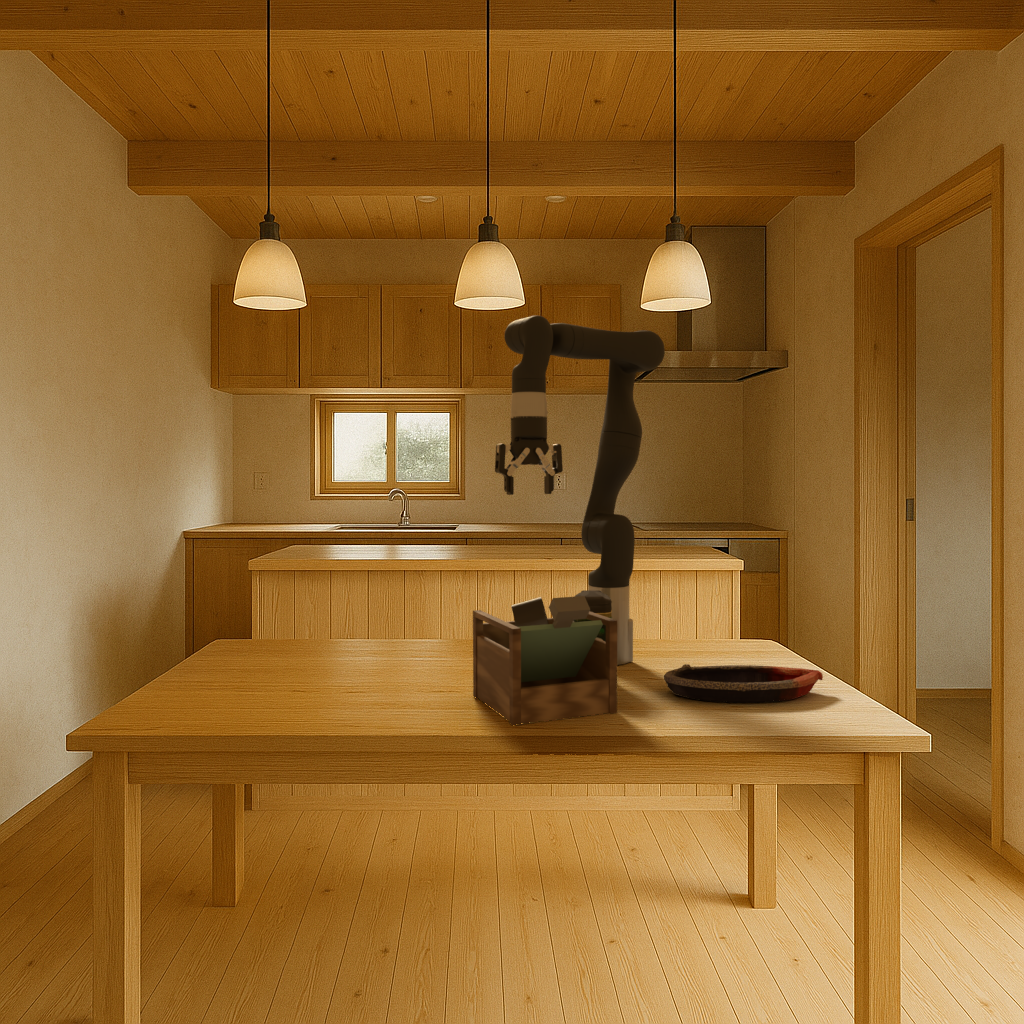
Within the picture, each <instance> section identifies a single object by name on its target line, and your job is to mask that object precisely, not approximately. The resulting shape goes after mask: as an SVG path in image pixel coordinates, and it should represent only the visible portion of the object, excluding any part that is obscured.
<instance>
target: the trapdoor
mask: <svg viewBox="0 0 1024 1024" xmlns="http://www.w3.org/2000/svg"><path fill="white" fill-rule="evenodd" d="M548 610H549V612H550V614H551V618H553V620H554V622H553V624H546V625H533V626H521V627H519V628H521V682H529V681H538V680H547V679H557V678H566V677H576V675H577V673H578V671H579V669H580V667H581V665H582V664H583V662H584V660H585V658H586V656H587V654H588V652H589V650H590V648H591V646H592V644H593V643H594V641H595V639H596V637H597V635H598V633H599V631H600V629H601V627H602V625H603V624H602V621H601V620H596V621H584V622H573V620H576V619H586V617H587V615H588V613H589V611H590V608H589V605H588V603H587V601H586V598H585V596H576V597H574V596H563V597H553V598H552V599H551V601H550V604H549V606H548Z"/></svg>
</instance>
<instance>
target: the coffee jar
mask: <svg viewBox="0 0 1024 1024" xmlns="http://www.w3.org/2000/svg"><path fill="white" fill-rule="evenodd" d="M576 596H585V598H586V601H587V603H588V605H589V608H590V612H593V613H596V614H599V615H602V616H605V617H608V618H611V619H612V606H611V603H612V601H611V599H610V597H609V596H608V595H606V594H604V593H602V592H601V591H599V590H588V589H587V590H581V591H580V592H579V593H577V594H575V595H574V596H573V597H576ZM584 621H592V620H589V619H576V620H573V622H584ZM596 638H597V639H600V640H602V641H605V642H606V625H602V627H601V629H600V631H599V633H598V635H597V637H596Z"/></svg>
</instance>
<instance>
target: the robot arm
mask: <svg viewBox="0 0 1024 1024" xmlns="http://www.w3.org/2000/svg"><path fill="white" fill-rule="evenodd" d="M503 336H504V341H505V345H507V347H508V348H509V349H510V350H511V351H512V352H514V353H516V354H519V355H522V356H521V357H522V358H521V360H520V362H519V363H518V364H516V365H514V367H513V368H512V372H511V398H510V443H509V444H505V443H498V444H496V446H495V457H494V458H495V460H494V472H495V473H496V474H498V475H499V474H500V475H501V476H503V491H504V492H505V493H506V495H507V496H509V495H510V496H513V495H514V494H515V493H514V487H515V485H514V484H515V483H514V481H515V480H514V479H515V478H514V476H513V475H514V473H515V472H516V470H517V469H518V468H519V467H520V466H523V465H524V466H526V465H530V466H536V465H537V466H538V467H539V468H540V469H541V470H542V472H543V473H544V475H545V476H544V477H543V479H544V480H543V482H544V484H543V485H544V486H543V487H544V491H543V492H544V495H545V494H546V495H552V494H553V493H552V492H554V489H555V475H557V474H559V473H563V451H562V444H560V443H554V444H548V440H547V439H548V413H549V412H548V401H547V393H546V392H547V375H546V374H547V370H548V366H549V362H550V358H551V356H554V357H559V358H564V359H566V358H567V359H573V360H574V359H575V360H608V361H609V362H608V376H607V377H608V379H607V392H606V399H605V405H604V406H605V408H604V415H603V421H602V426H601V432H600V437H599V441H598V443H599V444H598V451H597V457H596V464H595V470H594V476H593V480H592V484H591V485H592V487H591V490H590V494H589V498H588V502H587V505H586V509H585V514H584V516H583V520H582V525H581V531H580V532H581V533H580V534H581V541H582V544H583V547H584V548H585V549H586V550H587V551H588V552H589V553H591V554H597V555H600V563H599V566H598V567H597V568H595V569H594V570H591V571H590V572H589V573H588V577H587V578H588V579H587V581H588V582H587V590H599V591H601V592H602V593H604V594H606V595H608V596H609V597H610V599H611V601H612V603H611V606H612V619H614V620H617V666H618V665H620V666H621V665H625V664H628V663H632V662H634V620H633V618H630V579H631V576H632V574H633V572H634V571H633V570H634V560H635V559H634V556H635V541H636V539H635V530H634V526H633V523H632V521H631V519H629V518H628V517H627V516H625V515H622V514H617V513H615V510H616V504H617V499H618V496H619V494H620V491H621V489H622V487H623V486H624V484H625V482H627V479H628V478H629V476H630V475H631V473H632V472H633V470H634V468H635V466H636V464H637V462H638V460H639V455H640V450H641V444H642V439H643V438H642V437H643V427H642V422H641V419H640V416H639V413H638V411H637V408H636V407H637V406H636V404H635V402H634V387H635V381H636V376H637V374H638V373H642V372H643V373H644V372H645V373H646V372H650V371H652V370H654V369H656V368H658V367H659V366H660V365H661V364H662V362H663V360H664V359H665V353H666V352H665V344H664V341H663V340H662V338H661V336H659V334H658V333H656V332H654V331H652V330H645V329H643V330H642V329H641V330H636V331H635V330H634V331H620V330H619V331H618V330H617V331H616V330H607V329H602V328H601V329H599V328H595V327H588V326H583V325H578V324H577V325H576V324H570V323H565V322H557V323H550V321H549V320H548V319H547V318H546V317H545V316H542V315H531V316H528V317H524V318H523V317H522V318H519V319H516V320H514V321H511V322H510V323H509V324H508V325H507V327H506V329H505V331H504V335H503ZM509 452H510V453H511V455H512V457H511V459H510V460H509V461H508V463H507V466H506V455H507V454H508V453H509ZM548 452H549V454H550V455H551V462H550V461H549V460H548V458H547V457H546V455H547V453H548ZM551 463H552V465H551Z"/></svg>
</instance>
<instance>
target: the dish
mask: <svg viewBox="0 0 1024 1024" xmlns="http://www.w3.org/2000/svg"><path fill="white" fill-rule="evenodd" d="M823 675H824V674H823V673H822V672H821V671H820V670H817V669H816V670H815V669H808V668H802V667H800V668H799V667H788V666H787V667H786V666H777V665H775V666H774V665H773V666H772V665H756V664H754V665H753V664H751V665H748V664H747V665H742V664H740V665H739V664H738V665H737V664H735V665H734V664H732V665H705V666H703V665H701V666H691V665H690V664H687V663H686V664H683V665H682V666H680V667H678V668H675V669H671V670H668V671H666V672H665V674H663V680H664V682H665V683H666V685H667V688H668V689H669V690H670V691H671V692H672V694H675V695H676V696H679V697H684V698H687V699H691V700H695V701H697V700H698V701H703V702H705V701H706V702H715V703H730V704H731V703H732V704H733V703H736V704H737V703H738V704H739V703H740V704H741V703H742V704H743V703H744V704H748V703H749V704H753V703H754V704H756V703H757V704H758V703H777V702H785V701H786V702H787V701H791V700H794V699H797V698H800V697H802V696H805V695H808V694H809V693H810V691H812V690H813V688H814V687H815V684H817V682H818V681H819V680H820V681H823V677H824V676H823Z"/></svg>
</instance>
